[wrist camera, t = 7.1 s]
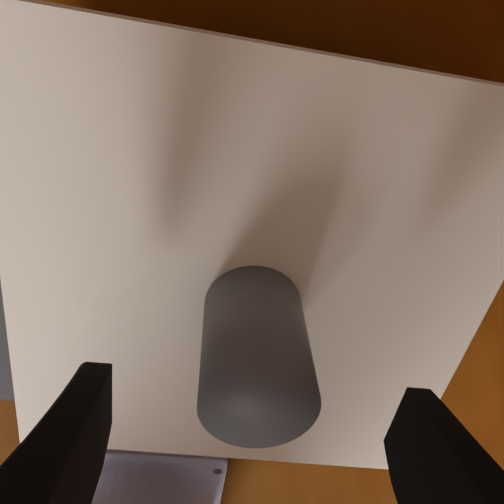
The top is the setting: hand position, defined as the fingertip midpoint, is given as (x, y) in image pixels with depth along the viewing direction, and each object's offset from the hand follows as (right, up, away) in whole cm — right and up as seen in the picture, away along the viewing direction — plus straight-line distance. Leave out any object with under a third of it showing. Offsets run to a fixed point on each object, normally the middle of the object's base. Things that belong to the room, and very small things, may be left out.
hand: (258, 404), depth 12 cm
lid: (0, +2, +4) cm, 4 cm away
